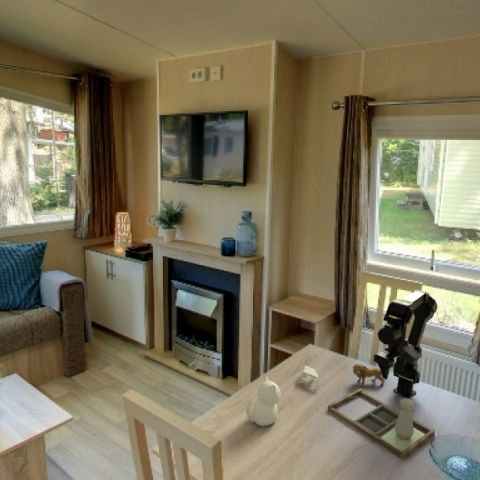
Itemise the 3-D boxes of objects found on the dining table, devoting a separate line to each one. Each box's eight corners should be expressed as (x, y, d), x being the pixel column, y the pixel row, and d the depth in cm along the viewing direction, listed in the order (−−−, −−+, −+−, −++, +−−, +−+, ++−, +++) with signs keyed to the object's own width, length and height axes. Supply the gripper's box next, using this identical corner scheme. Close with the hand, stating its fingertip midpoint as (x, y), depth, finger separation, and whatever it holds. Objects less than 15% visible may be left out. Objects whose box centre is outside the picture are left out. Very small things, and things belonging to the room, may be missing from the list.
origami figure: (292, 379, 165) (292, 368, 164) (306, 373, 170) (307, 363, 169) (313, 393, 155) (314, 382, 154) (328, 387, 160) (328, 376, 159)
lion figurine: (354, 387, 160) (356, 367, 158) (348, 380, 165) (350, 360, 163) (388, 385, 162) (390, 365, 161) (381, 378, 168) (383, 359, 166)
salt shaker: (416, 438, 131) (421, 403, 128) (404, 444, 128) (409, 408, 126) (401, 428, 136) (406, 393, 133) (390, 433, 133) (394, 398, 131)
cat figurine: (284, 425, 136) (287, 385, 134) (251, 433, 131) (253, 392, 129) (271, 410, 145) (274, 372, 142) (240, 417, 139) (242, 378, 137)
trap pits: (381, 407, 148) (382, 404, 147) (403, 420, 141) (403, 416, 140) (353, 424, 138) (353, 420, 137) (375, 439, 131) (375, 435, 130)
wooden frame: (359, 393, 156) (359, 388, 156) (434, 435, 133) (435, 430, 133) (327, 410, 145) (327, 405, 145) (403, 460, 122) (404, 454, 121)
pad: (402, 422, 139) (403, 421, 139) (426, 436, 133) (426, 435, 133) (379, 438, 131) (379, 437, 131) (403, 453, 125) (403, 452, 124)
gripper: (403, 351, 130) (398, 394, 134) (432, 337, 142) (427, 377, 145) (374, 338, 139) (370, 379, 142) (403, 326, 150) (399, 364, 153)
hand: (392, 375), depth 145 cm, fingers open, 9 cm apart
